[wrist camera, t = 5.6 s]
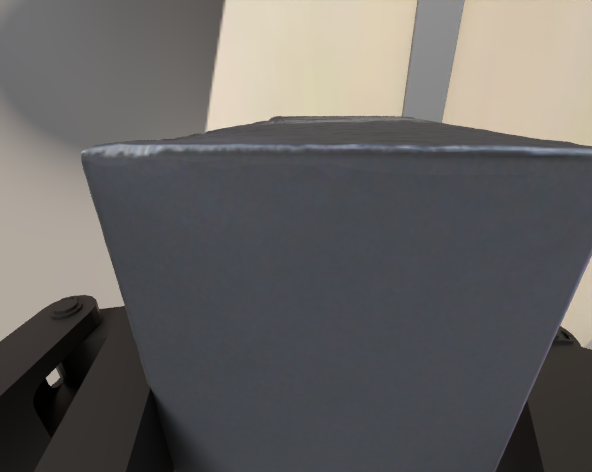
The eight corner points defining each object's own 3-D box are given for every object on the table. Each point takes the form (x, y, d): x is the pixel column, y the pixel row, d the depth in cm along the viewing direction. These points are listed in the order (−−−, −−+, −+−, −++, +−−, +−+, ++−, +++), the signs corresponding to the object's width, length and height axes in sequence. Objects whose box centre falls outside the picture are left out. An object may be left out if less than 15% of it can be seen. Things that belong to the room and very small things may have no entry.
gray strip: (469, -37, 20) (472, -41, 19) (413, 264, 29) (414, 267, 28) (422, -35, 20) (424, -38, 20) (382, 262, 29) (382, 265, 29)
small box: (392, 321, 16) (452, 627, 7) (277, 310, 17) (187, 561, 8) (424, 112, 12) (715, 150, 2) (267, 114, 13) (38, 144, 3)
